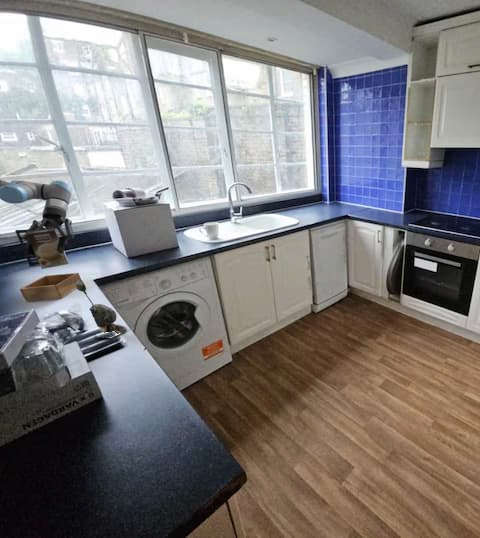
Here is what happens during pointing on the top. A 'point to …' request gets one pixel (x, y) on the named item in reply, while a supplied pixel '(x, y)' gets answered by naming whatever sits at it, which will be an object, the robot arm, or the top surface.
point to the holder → (25, 247)
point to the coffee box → (47, 248)
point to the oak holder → (50, 287)
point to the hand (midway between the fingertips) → (44, 253)
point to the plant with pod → (102, 314)
